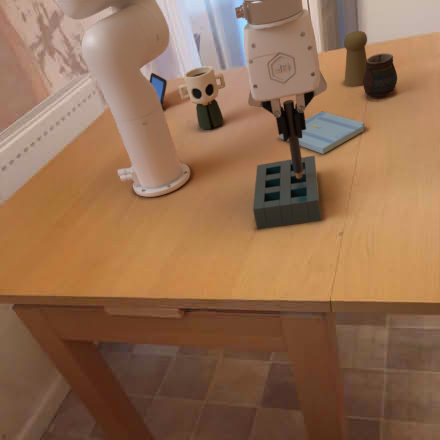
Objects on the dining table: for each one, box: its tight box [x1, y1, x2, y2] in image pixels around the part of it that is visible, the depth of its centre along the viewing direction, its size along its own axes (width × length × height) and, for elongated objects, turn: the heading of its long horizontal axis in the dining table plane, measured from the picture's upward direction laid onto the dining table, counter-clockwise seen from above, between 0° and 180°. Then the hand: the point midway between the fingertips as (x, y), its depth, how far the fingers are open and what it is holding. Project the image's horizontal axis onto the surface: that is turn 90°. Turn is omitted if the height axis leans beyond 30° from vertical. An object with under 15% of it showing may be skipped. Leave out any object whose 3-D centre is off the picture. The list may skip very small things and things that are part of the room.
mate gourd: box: [362, 52, 398, 99], centre depth 104 cm, size 7×8×10 cm
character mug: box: [178, 65, 226, 130], centre depth 113 cm, size 11×7×13 cm, turn 97°
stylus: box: [282, 99, 303, 179], centre depth 76 cm, size 2×2×13 cm
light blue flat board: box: [279, 110, 366, 155], centre depth 99 cm, size 14×12×1 cm
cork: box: [343, 30, 368, 87], centre depth 112 cm, size 6×6×11 cm
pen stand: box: [252, 155, 322, 230], centre depth 82 cm, size 11×15×4 cm
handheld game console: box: [149, 72, 168, 111], centre depth 135 cm, size 12×11×7 cm
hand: (293, 135), depth 75 cm, fingers closed on stylus, 1 cm apart
